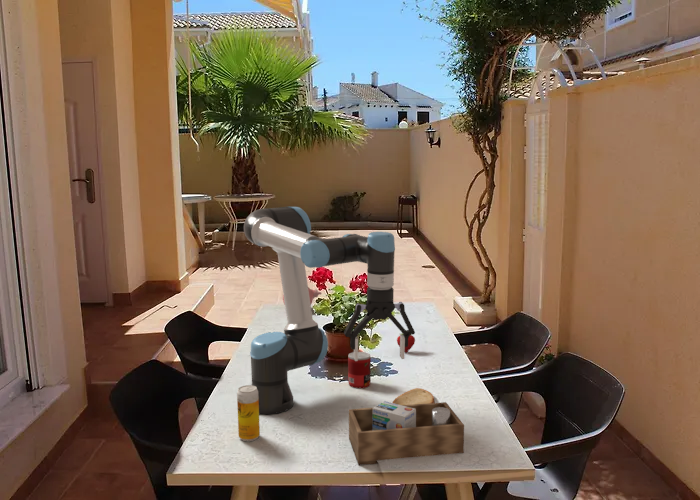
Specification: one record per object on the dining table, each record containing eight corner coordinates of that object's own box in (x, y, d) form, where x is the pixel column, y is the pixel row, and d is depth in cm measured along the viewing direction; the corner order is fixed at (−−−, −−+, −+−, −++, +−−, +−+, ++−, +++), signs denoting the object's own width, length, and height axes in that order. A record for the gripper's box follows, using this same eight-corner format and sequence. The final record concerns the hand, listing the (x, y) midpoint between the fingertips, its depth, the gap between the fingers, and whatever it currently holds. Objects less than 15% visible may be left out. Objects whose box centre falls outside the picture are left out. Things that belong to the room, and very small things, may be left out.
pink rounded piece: (323, 314, 324) (322, 285, 322) (283, 316, 321) (282, 286, 319) (320, 307, 339) (320, 279, 337) (282, 309, 337) (281, 280, 334)
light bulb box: (371, 444, 179) (371, 407, 178) (384, 435, 185) (384, 400, 183) (404, 454, 173) (404, 416, 171) (416, 445, 179) (416, 408, 177)
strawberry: (416, 354, 260) (416, 330, 259) (398, 355, 259) (398, 331, 258) (413, 350, 266) (413, 326, 264) (395, 350, 265) (395, 327, 264)
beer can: (234, 437, 186) (232, 388, 184) (251, 431, 191) (249, 383, 188) (246, 444, 182) (245, 394, 180) (264, 437, 186) (262, 388, 184)
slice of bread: (425, 392, 221) (426, 382, 220) (449, 412, 204) (449, 401, 203) (376, 399, 215) (376, 388, 215) (396, 420, 198) (396, 409, 198)
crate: (358, 465, 169) (358, 433, 168) (349, 438, 185) (348, 409, 184) (463, 456, 174) (464, 424, 173) (445, 431, 190) (445, 402, 188)
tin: (434, 445, 178) (435, 415, 177) (429, 437, 183) (429, 407, 182) (451, 444, 179) (452, 413, 178) (446, 436, 184) (446, 406, 182)
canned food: (368, 389, 223) (368, 359, 221) (346, 387, 225) (346, 357, 223) (372, 381, 231) (372, 352, 229) (350, 380, 232) (350, 351, 230)
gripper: (338, 291, 175) (337, 364, 179) (426, 288, 179) (424, 361, 183) (334, 284, 183) (334, 355, 186) (419, 282, 186) (417, 352, 190)
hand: (379, 358), depth 185 cm, fingers open, 13 cm apart
